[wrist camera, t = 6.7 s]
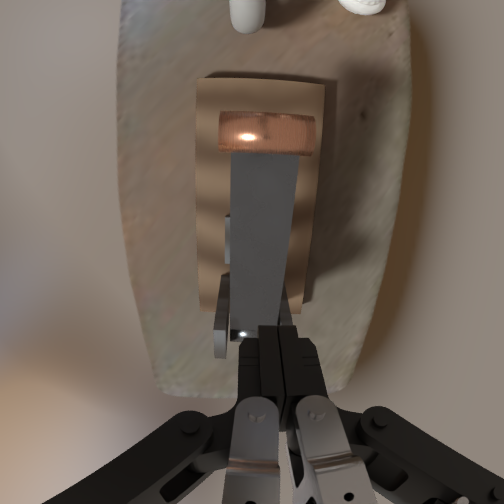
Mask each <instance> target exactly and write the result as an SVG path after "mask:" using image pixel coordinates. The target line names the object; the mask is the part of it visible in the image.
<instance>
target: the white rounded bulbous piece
mask: <svg viewBox="0 0 504 504" xmlns="http://www.w3.org/2000/svg"><path fill="white" fill-rule="evenodd" d="M338 1H339V2H340V4H341V5H342V6H343V7H344V8H346V9H347V10H348V11H350V12H353V13H355V14H356V13H357V14H360V15H373V14H376V13H378V12H380V11H381V10H382V9H383V8H384V6H385V3H386V0H338Z"/></svg>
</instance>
